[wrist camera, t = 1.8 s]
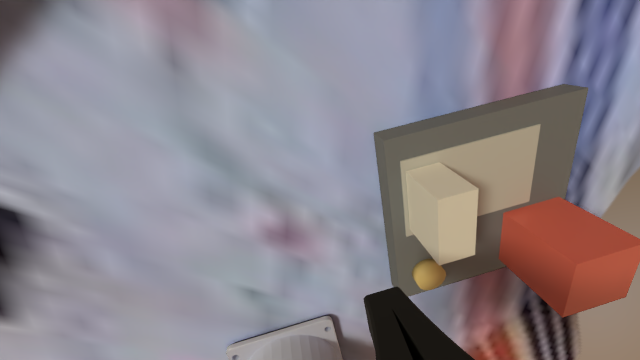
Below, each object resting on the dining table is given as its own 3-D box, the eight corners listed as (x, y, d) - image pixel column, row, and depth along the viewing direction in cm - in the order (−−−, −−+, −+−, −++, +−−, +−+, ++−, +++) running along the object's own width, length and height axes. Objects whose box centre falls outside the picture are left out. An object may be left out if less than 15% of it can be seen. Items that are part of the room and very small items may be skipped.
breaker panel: (536, 240, 23) (563, 259, 21) (391, 283, 22) (405, 308, 20) (563, 84, 18) (603, 89, 16) (373, 132, 17) (389, 145, 15)
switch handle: (440, 220, 18) (475, 254, 15) (410, 229, 18) (438, 265, 15) (439, 162, 16) (478, 188, 14) (405, 171, 16) (437, 200, 13)
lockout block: (549, 243, 21) (625, 297, 17) (498, 258, 21) (562, 317, 17) (559, 196, 20) (646, 242, 15) (503, 212, 19) (576, 264, 15)
